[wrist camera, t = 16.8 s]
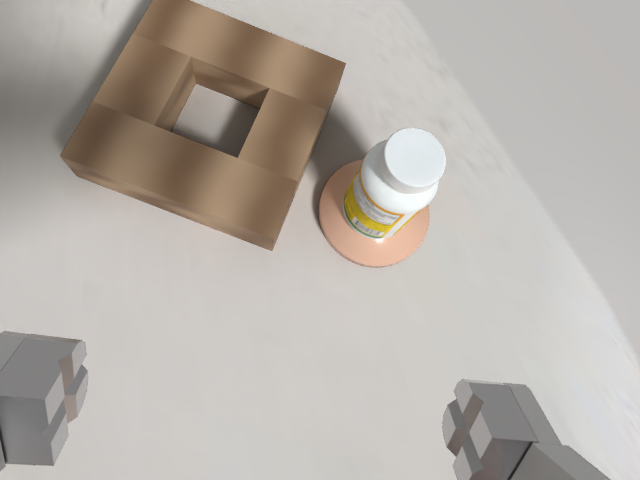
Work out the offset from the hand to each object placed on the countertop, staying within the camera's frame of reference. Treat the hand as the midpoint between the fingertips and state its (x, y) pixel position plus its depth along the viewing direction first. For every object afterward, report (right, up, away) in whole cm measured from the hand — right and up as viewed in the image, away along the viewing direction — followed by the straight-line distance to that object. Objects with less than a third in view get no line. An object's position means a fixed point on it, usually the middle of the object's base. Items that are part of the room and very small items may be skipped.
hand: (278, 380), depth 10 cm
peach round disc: (+5, +5, +29) cm, 30 cm away
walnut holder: (-8, +12, +29) cm, 32 cm away
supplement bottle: (+5, +6, +28) cm, 29 cm away
